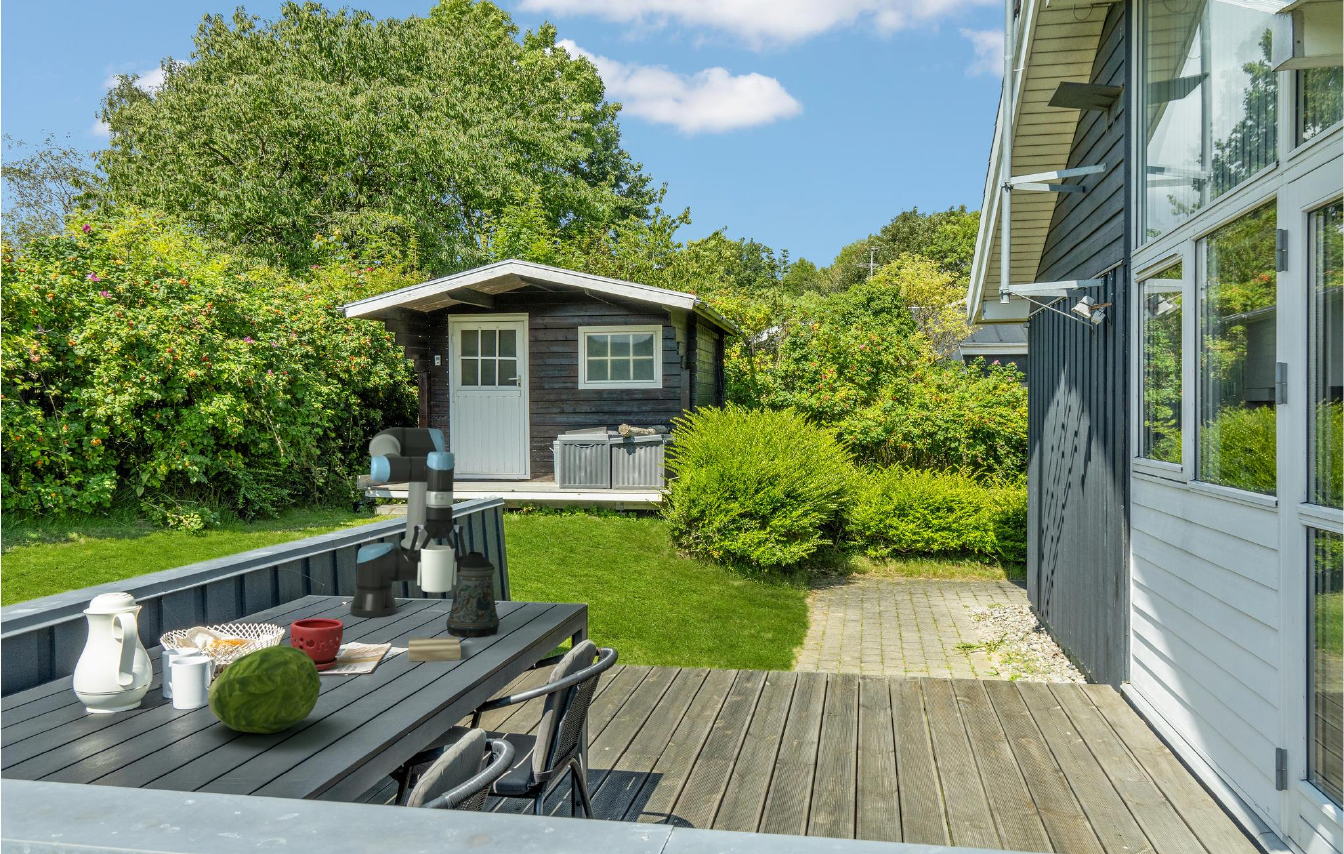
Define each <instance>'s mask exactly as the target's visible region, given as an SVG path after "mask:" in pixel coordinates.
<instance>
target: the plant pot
mask: <svg viewBox="0 0 1344 854" xmlns="http://www.w3.org/2000/svg"><path fill="white" fill-rule="evenodd" d="M343 635H344V623H343V621H340V620H336V619H331V618H305V619H301V620H299V619H298V620H296V621H293V622H292V623H291V625H290V646H292V647H296V648H300V649H301V650H303V651H304V652H305V653H307V654H308V655H309V656H310V657H311V659H312V660H313V661H314V664H315V666H316V668H317V671H318V672H319V671H325V670H328V669H331V668H333V667H335V666H336V664H337V663H338V657H337V654H338V652H339V651H340V647H341V645H342V640H343Z"/></svg>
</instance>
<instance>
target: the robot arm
mask: <svg viewBox="0 0 1344 854" xmlns="http://www.w3.org/2000/svg"><path fill="white" fill-rule="evenodd" d="M371 438H372V439H371V440H370V442H369V445H368V450H369V454H370V456H371V462H370V463H371V464H370V479H371V481H373V482H375V483H377V482H379V483H408V492H407V493H408V494H407V507H406V509H407V510H406V511H407V512H406V525H405V527H406V529H405V538H404V539H402V540H401V542H400V547H399V546H397V547H395V545H394V543H392V542H378V543H372V544H367V545H364V546H362V547H361V548H359V550H358V552H357V559H356V564H357V570H356V586H355V587H356V591H355V594H354V595H353V598H352V601H351V603H350V605H349V608H350V609H349V610H350V611H349V614H350V615H351V616H354V617H355V616H356V617H361V618H381V617H382V618H383V617H387V616H392V615H395V614H396V613H397V609H398V605H397V602H396V599H395V595H394V591H393V583H394V582H416V583H417V584H416V585H417V586H421V549H425V548H426V546H435V545H436V541H435V540H436V539H441V540H444V539H445V540H446V542H447V544H448V546H450V548H451V549H454V548H455V554H454V556H455V557H454V559H455V560H454V568H453V578H452V585H453V586H456V581H457V574H456V573H460V570H461V561H462V560H465V559H467V555H468V553H467V549H466V544H465V541H464V534H463V532H464V526H463V524H454V523H453V511H454V510H453V507H452V505H453V504H454V481H455V480H454V477H455V475H454V474H455V467H456V466H455V465H456V463H455V454H454V452H449V451H446V442H445V441H446V440H445V436H444V432H443V431H442V430H441V429H439V428H430V427H402V426H401V427H397V426H396V427H391V428H386V429H384V430H382V431H380V432H378V433H376V434H375V435H374V436H373V437H371ZM453 530H455V533H457V537H458V541H459V546H460V550H461V555H460V554H459V551H457V548H456V546H455V544H454V542H453V540H452V538H451V537H450V534H451V532H452V531H453Z"/></svg>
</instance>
